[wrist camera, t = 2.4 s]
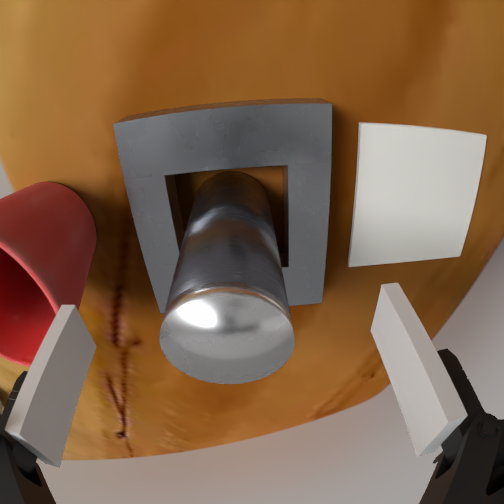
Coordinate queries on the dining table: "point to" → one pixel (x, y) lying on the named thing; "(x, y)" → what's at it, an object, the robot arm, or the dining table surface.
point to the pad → (413, 192)
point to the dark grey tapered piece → (0, 408)
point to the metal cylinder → (228, 288)
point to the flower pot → (40, 263)
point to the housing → (228, 157)
